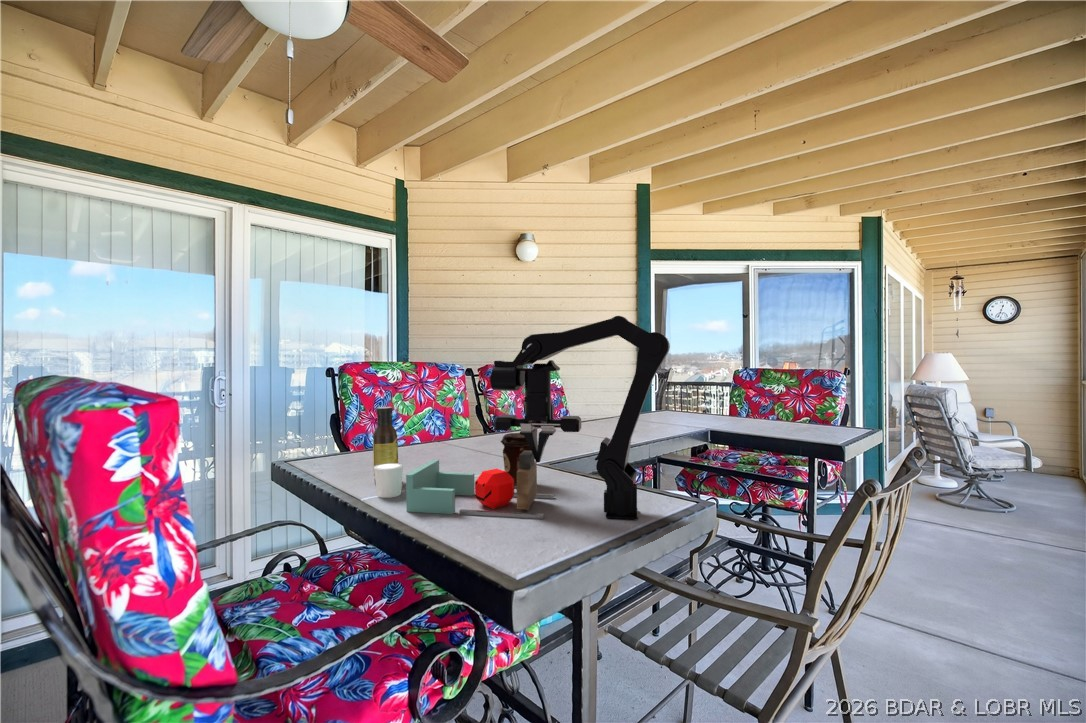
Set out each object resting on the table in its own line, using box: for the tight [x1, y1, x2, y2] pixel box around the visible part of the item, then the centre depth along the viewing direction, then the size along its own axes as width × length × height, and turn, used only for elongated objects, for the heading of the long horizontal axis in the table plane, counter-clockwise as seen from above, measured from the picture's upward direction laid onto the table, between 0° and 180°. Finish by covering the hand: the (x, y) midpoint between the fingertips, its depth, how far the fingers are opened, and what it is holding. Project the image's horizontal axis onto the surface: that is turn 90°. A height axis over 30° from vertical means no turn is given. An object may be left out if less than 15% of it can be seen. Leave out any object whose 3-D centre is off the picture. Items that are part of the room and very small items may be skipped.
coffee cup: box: [500, 432, 531, 489], centre depth 129 cm, size 9×8×13 cm
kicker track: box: [458, 491, 555, 520], centre depth 112 cm, size 18×15×1 cm
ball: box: [474, 468, 515, 510], centre depth 112 cm, size 8×8×8 cm
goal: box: [405, 459, 476, 515], centre depth 114 cm, size 10×15×8 cm
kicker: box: [516, 450, 538, 510], centre depth 111 cm, size 2×10×11 cm, turn 170°
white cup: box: [373, 462, 404, 499], centre depth 121 cm, size 7×7×7 cm
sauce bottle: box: [372, 406, 399, 484], centre depth 132 cm, size 6×6×20 cm
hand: (538, 461), depth 110 cm, fingers closed
